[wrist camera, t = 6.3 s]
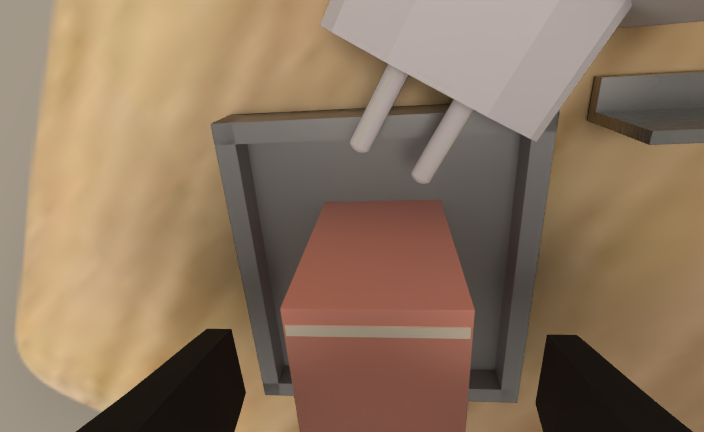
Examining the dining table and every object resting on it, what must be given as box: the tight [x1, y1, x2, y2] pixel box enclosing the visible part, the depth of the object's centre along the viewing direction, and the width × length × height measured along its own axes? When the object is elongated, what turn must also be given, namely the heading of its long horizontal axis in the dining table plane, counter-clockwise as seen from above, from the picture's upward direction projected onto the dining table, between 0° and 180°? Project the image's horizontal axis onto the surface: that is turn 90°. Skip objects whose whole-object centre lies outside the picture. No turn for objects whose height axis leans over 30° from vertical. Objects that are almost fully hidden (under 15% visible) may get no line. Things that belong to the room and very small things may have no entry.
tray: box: [211, 104, 560, 403], centre depth 13 cm, size 10×9×2 cm
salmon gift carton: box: [280, 200, 475, 432], centre depth 11 cm, size 4×4×6 cm
